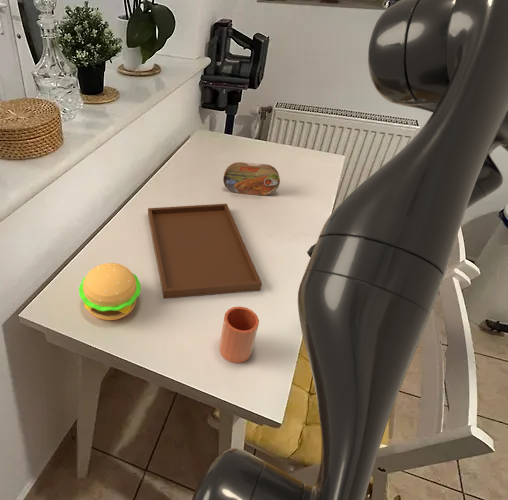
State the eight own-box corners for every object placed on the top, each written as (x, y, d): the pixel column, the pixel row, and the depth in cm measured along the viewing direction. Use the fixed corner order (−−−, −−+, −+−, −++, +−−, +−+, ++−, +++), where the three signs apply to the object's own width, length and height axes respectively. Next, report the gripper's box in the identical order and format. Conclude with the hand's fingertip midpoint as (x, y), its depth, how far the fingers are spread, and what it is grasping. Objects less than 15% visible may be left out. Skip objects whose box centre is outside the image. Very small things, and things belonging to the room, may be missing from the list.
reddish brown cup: (255, 361, 77) (263, 331, 71) (223, 364, 76) (229, 334, 71) (245, 335, 81) (253, 305, 76) (215, 338, 80) (220, 307, 75)
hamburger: (144, 285, 91) (144, 254, 85) (136, 329, 82) (135, 298, 76) (88, 280, 92) (85, 249, 86) (74, 323, 83) (69, 292, 77)
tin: (221, 191, 119) (225, 164, 114) (222, 185, 122) (225, 159, 116) (276, 197, 118) (282, 170, 112) (276, 191, 120) (282, 164, 115)
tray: (260, 290, 90) (262, 283, 89) (163, 298, 88) (163, 291, 87) (225, 210, 113) (226, 203, 111) (147, 214, 110) (147, 208, 109)
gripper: (380, 170, 65) (292, 234, 72) (438, 227, 55) (328, 296, 61) (399, 197, 69) (314, 256, 76) (456, 255, 59) (352, 318, 65)
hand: (320, 274), depth 68 cm, fingers open, 8 cm apart
